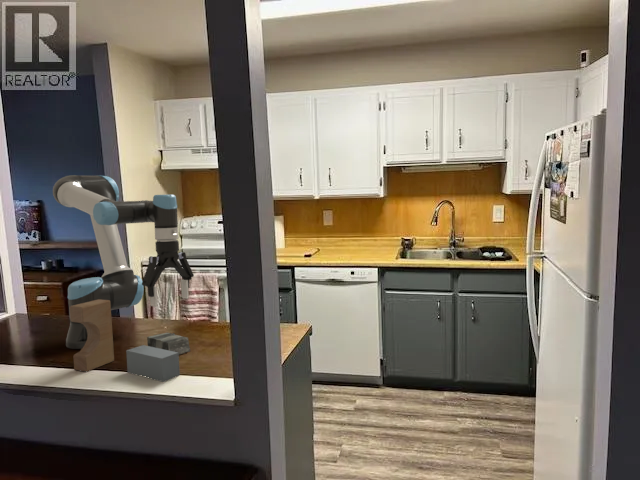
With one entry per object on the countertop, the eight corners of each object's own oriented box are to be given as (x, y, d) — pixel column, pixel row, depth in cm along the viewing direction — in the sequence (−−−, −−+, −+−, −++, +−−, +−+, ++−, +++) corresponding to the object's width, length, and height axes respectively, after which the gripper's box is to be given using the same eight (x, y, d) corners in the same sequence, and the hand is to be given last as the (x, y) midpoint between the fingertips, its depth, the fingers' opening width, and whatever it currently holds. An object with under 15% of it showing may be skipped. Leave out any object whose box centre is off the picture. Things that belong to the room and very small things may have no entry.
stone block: (170, 344, 176) (170, 329, 176) (192, 351, 166) (192, 336, 166) (147, 350, 169) (146, 335, 169) (169, 358, 160) (168, 342, 159)
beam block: (127, 373, 147) (126, 350, 146) (144, 367, 152) (143, 345, 151) (163, 382, 138) (161, 358, 138) (179, 375, 143) (178, 352, 143)
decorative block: (85, 372, 148) (81, 307, 146) (73, 370, 150) (68, 306, 149) (115, 361, 158) (111, 300, 156) (103, 359, 160) (98, 299, 159)
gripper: (143, 244, 153) (147, 310, 155) (202, 237, 174) (204, 296, 176) (128, 243, 157) (132, 308, 159) (187, 236, 178) (189, 294, 180)
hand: (170, 302), depth 167 cm, fingers open, 13 cm apart
